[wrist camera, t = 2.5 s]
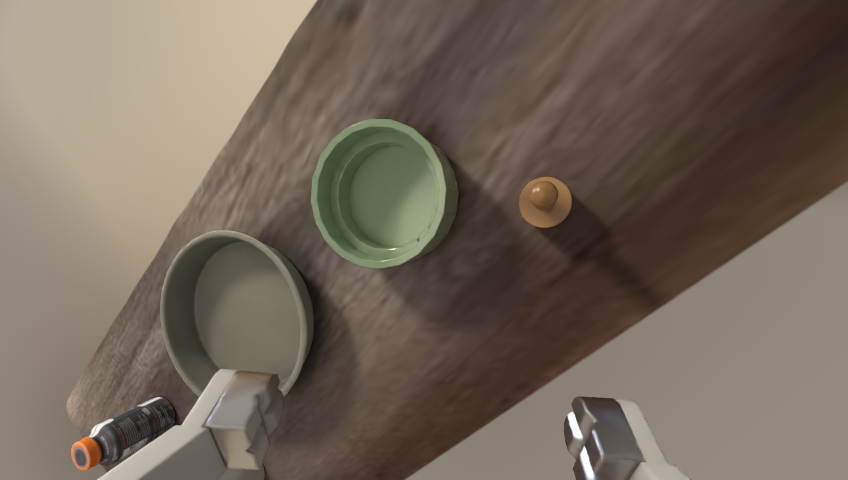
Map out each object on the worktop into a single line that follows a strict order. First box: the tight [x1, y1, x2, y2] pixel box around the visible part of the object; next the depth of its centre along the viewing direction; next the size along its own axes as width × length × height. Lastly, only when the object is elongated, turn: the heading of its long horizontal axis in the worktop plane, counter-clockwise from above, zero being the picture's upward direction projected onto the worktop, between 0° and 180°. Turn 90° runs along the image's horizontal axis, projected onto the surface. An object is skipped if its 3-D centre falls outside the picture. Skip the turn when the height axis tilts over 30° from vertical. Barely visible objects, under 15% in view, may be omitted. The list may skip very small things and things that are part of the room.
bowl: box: [311, 119, 459, 269], centre depth 41 cm, size 16×16×6 cm
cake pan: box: [160, 230, 314, 397], centre depth 50 cm, size 25×25×4 cm
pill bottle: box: [71, 397, 175, 471], centre depth 54 cm, size 6×6×11 cm
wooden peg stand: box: [519, 177, 572, 228], centre depth 31 cm, size 5×5×17 cm
